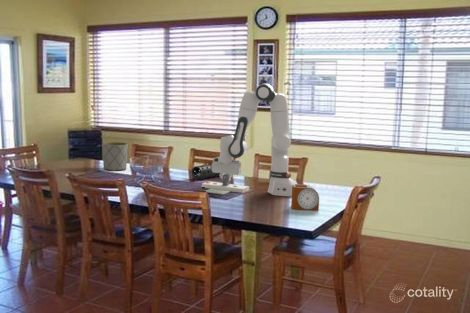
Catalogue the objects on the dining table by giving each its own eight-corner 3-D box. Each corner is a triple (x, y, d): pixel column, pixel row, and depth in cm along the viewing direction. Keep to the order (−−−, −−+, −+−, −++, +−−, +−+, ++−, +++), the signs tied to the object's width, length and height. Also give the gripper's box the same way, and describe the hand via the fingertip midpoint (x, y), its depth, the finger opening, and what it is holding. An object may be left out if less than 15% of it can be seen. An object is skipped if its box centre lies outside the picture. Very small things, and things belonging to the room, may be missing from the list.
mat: (229, 192, 341) (229, 191, 341) (223, 194, 333) (223, 193, 333) (210, 189, 347) (210, 188, 347) (203, 191, 339) (203, 191, 339)
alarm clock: (292, 209, 300) (293, 186, 298) (290, 206, 308) (292, 183, 306) (318, 210, 300) (320, 187, 298) (316, 207, 308) (317, 184, 307)
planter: (132, 169, 410) (132, 144, 407) (112, 172, 396) (112, 145, 393) (117, 166, 423) (117, 141, 420) (97, 168, 408) (97, 143, 406)
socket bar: (249, 190, 349) (249, 185, 349) (242, 192, 340) (242, 188, 340) (208, 185, 362) (208, 180, 361) (201, 187, 353) (201, 182, 352)
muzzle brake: (190, 179, 380) (191, 165, 379) (215, 174, 403) (215, 161, 401) (201, 181, 375) (201, 166, 373) (225, 176, 397) (225, 162, 396)
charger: (229, 186, 352) (229, 174, 351) (226, 187, 348) (226, 175, 347) (225, 185, 353) (225, 173, 352) (222, 186, 349) (222, 174, 348)
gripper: (242, 160, 347) (242, 181, 348) (215, 157, 355) (214, 178, 357) (238, 161, 341) (238, 182, 343) (210, 158, 350) (210, 179, 352)
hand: (226, 180), depth 350 cm, fingers closed on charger, 3 cm apart
